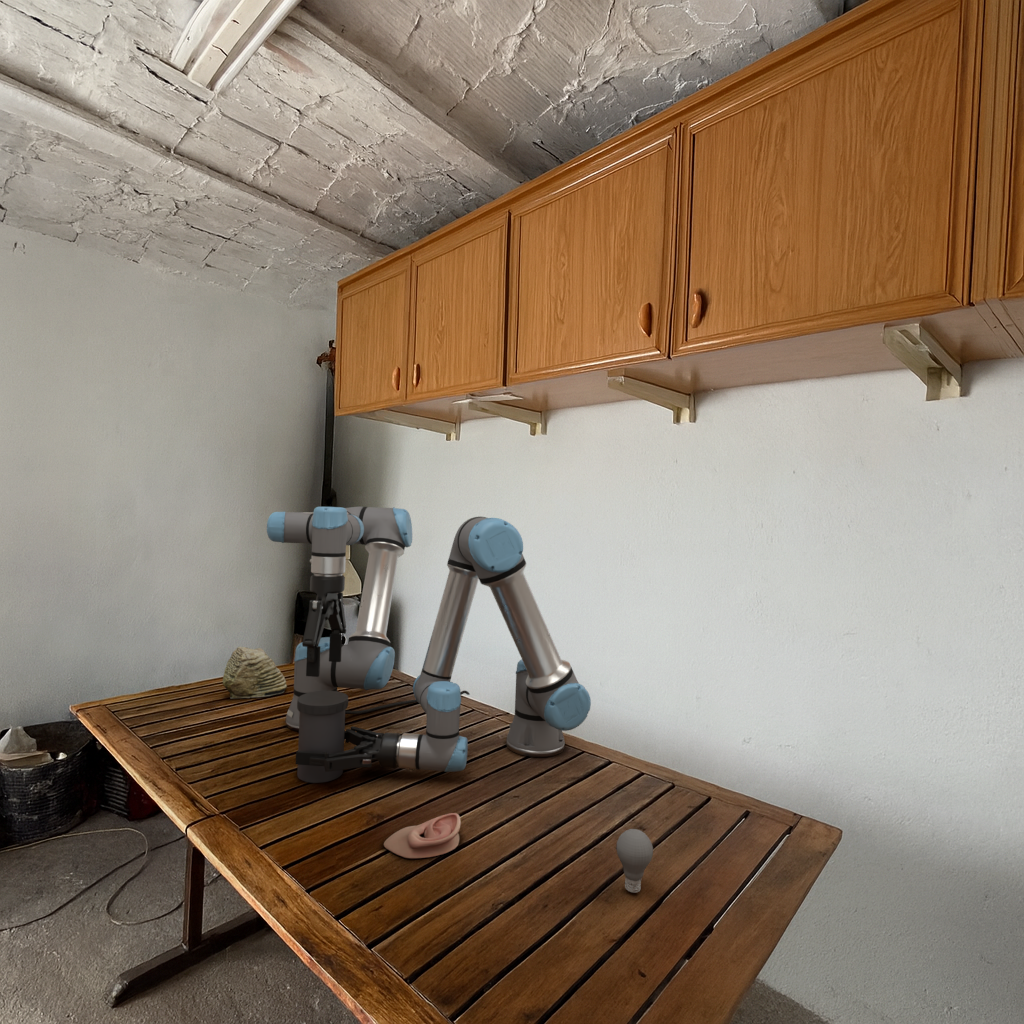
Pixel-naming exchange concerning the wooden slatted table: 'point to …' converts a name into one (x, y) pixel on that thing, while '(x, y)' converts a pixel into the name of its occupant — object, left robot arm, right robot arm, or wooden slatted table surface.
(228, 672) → the fossil
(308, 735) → the jar
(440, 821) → the anatomical model
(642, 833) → the light bulb
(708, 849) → the wooden slatted table surface
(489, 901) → the wooden slatted table surface
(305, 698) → the lid
